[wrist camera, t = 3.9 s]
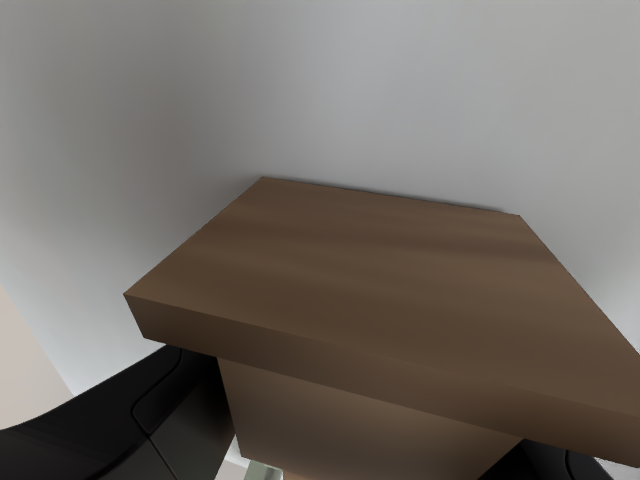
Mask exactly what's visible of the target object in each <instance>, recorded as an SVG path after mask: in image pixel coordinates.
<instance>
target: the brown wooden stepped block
mask: <svg viewBox="0 0 640 480" xmlns="http://www.w3.org/2000/svg"><path fill="white" fill-rule="evenodd" d="M123 295H124V297H125V299H126V301H127V303H128V305H129V308H130V310H131V312H132V314H133V316H134V318H135V320H136V322H137V325H138V327H139V329H140V331H141V333H142V335H143V337H144V338H146V339H149V340H153V341H157V342H161V343H165V344H168V345H172V346H176V347H180V348H184V349H187V350H191V351H195V352H199V353H203V354H206V355H210V356H214V357H217V360H218V364H219V368H220V372H221V376H222V380H223V384H224V388H225V392H226V396H227V400H228V404H229V408H230V412H231V416H232V420H233V425H234V429H235V433H236V437H237V441H238V445H239V449H240V453H241V457H244V458H247V459H251V460H254V461H257V462H260V463H263V464H266V465H269V466H272V467H276V468H279V469H282V470H283V480H477V479H478V478H479V477H480V476H481V475H483V474H484V473H485V472H486V471H487V470H488V469H489V468H491V467H492V466H493V465H494V464H495V463H496V462H497V461H499V460H500V459H501V458H502V457H503V456H504V455H505V454H507V453H508V452H509V451H510V450H511V449H512V448H513V447H515V446H516V445H517V444H518V443H519V442H520V441H521V440H523V439H524V438H525V439H528V440H532V441H536V442H540V443H543V444H547V445H551V446H555V447H559V448H562V449H566V450H570V451H574V452H578V453H581V454H585V455H589V456H593V457H597V458H600V459H604V460H608V461H612V462H615V463H619V464H623V465H627V466H631V467H634V468H640V355H639V353H638V352H637V351H636V350H635V349H634V348H633V346H632V345H631V344H630V343H629V342H628V341H627V339H626V338H625V337H624V336H623V335H622V334H621V332H620V331H619V330H618V329H617V328H616V327H615V326H614V324H613V323H612V322H611V321H610V320H609V319H608V317H607V316H606V315H605V314H604V313H603V312H602V310H601V309H600V308H599V307H598V306H597V305H596V304H595V302H594V301H593V300H592V299H591V298H590V297H589V295H588V294H587V293H586V292H585V291H584V290H583V288H582V287H581V286H580V285H579V284H578V283H577V281H576V280H575V279H574V278H573V277H572V276H571V275H570V273H569V272H568V271H567V270H566V269H565V268H564V266H563V265H562V264H561V263H560V262H559V261H558V259H557V258H556V257H555V256H554V255H553V254H552V252H551V251H550V250H549V249H548V248H547V247H546V246H545V244H544V243H543V242H542V241H541V240H540V239H539V237H538V236H537V235H536V234H535V233H534V232H533V230H532V229H531V228H530V227H529V226H528V225H527V223H526V222H525V221H524V220H523V219H522V218H521V217H520V215H514V214H508V213H501V212H494V211H487V210H481V209H474V208H467V207H461V206H454V205H447V204H441V203H434V202H427V201H421V200H414V199H407V198H401V197H394V196H387V195H380V194H374V193H367V192H360V191H354V190H347V189H340V188H334V187H327V186H320V185H314V184H307V183H300V182H294V181H287V180H280V179H274V178H267V177H262V178H261V179H259V180H258V181H257V182H256V183H255V184H253V185H252V186H251V187H250V188H249V189H247V190H246V191H245V192H244V193H243V194H242V195H240V196H239V197H238V198H237V199H236V200H234V201H233V202H232V203H231V204H230V205H228V206H227V207H226V208H225V209H224V210H222V211H221V212H220V213H219V214H218V215H216V216H215V217H214V218H213V219H212V220H210V221H209V222H208V223H207V224H206V225H205V226H203V227H202V228H201V229H200V230H199V231H197V232H196V233H195V234H194V235H193V236H191V237H190V238H189V239H188V240H187V241H185V242H184V243H183V244H182V245H181V246H179V247H178V248H177V249H176V250H175V251H173V252H172V253H171V254H170V255H169V256H168V257H166V258H165V259H164V260H163V261H162V262H160V263H159V264H158V265H157V266H156V267H154V268H153V269H152V270H151V271H150V272H148V273H147V274H146V275H145V276H144V277H142V278H141V279H140V280H139V281H138V282H136V283H135V284H134V285H133V286H132V287H131V288H129V289H128V290H127V291H126V292H125V293H123Z"/></svg>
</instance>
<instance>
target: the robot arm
mask: <svg viewBox="0 0 640 480" xmlns="http://www.w3.org/2000/svg"><path fill="white" fill-rule="evenodd" d="M234 436H235V429H234V425H233V420H232V416H231V412H230V408H229V404H228V400H227V396H226V392H225V388H224V384H223V380H222V376H221V372H220V368H219V364H218V360H217V357H214V356H210V355H206V354H203V353H199V352H195V351H191V350H187V349H184V348H180V347H176V346H172V345H168V344H166V345H165V346H163V347H161V348H160V349H158V350H157V351H155V352H153V353H152V354H150V355H149V356H147V357H145V358H144V359H142V360H140V361H138V362H137V363H135V364H133V365H132V366H130V367H128V368H126V369H125V370H123V371H121V372H119V373H118V374H116V375H114V376H112V377H110V378H109V379H107V380H105V381H103V382H101V383H100V384H98V385H96V386H94V387H92V388H91V389H89V390H87V391H85V392H83V393H82V394H80V395H78V396H76V397H74V398H73V399H71V400H69V401H67V402H66V403H64V404H62V405H60V406H58V407H56V408H54V409H52V410H50V411H48V412H47V413H44V414H42V415H40V416H38V417H36V418H33V419H31V420H28V421H26V422H23V423H21V424H18V425H15V426H12V427H9V428H6V429H2V430H0V480H214V479H215V477H216V475H217V473H218V470H219V468H220V466H221V464H222V462H223V460H224V457H225V455H226V453H227V451H228V449H229V447H230V444H231V442H232V440H233V438H234ZM477 480H614V479H613V478H612V477H611V476H610V475H609V474H608V473H607V472H606V470H605V469H604V468H603V467H602V466H601V465H600V464H599V463H598V462H597V461H596V459H595V458H594V457H593V456H589V455H585V454H581V453H578V452H574V451H570V450H566V449H562V448H559V447H555V446H551V445H547V444H543V443H540V442H536V441H532V440H528V439H525V438H524V439H523V440H521V441H520V442H519V443H518V444H517V445H516V446H515V447H513V448H512V449H511V450H510V451H509V452H508V453H507V454H505V455H504V456H503V457H502V458H501V459H500V460H499V461H497V462H496V463H495V464H494V465H493V466H492V467H491V468H489V469H488V470H487V471H486V472H485V473H484V474H483V475H481V476H480V477H479V478H478V479H477Z"/></svg>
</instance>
